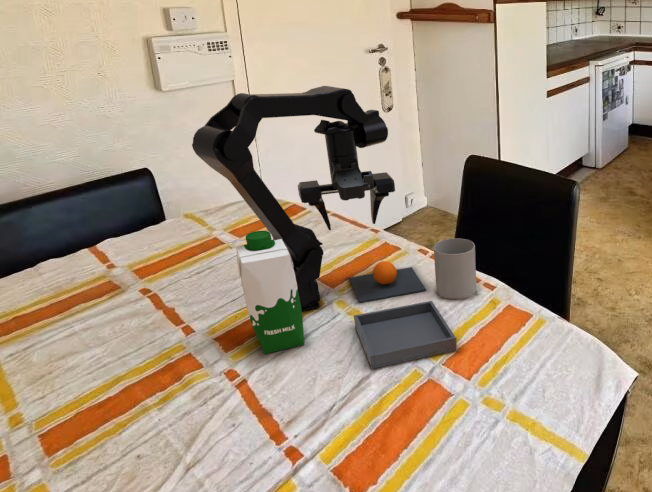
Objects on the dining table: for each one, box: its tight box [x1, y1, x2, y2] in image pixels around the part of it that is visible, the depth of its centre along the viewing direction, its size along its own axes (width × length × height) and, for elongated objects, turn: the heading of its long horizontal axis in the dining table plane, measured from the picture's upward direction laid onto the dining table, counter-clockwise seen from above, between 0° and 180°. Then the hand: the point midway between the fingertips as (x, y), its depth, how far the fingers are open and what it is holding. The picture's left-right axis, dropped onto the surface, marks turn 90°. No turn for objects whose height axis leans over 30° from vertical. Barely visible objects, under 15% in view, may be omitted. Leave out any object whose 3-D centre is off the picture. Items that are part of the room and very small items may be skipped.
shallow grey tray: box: [353, 300, 458, 370], centre depth 114 cm, size 15×15×3 cm
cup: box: [433, 237, 477, 300], centre depth 129 cm, size 8×8×10 cm
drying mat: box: [349, 266, 427, 304], centre depth 134 cm, size 14×12×1 cm
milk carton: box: [235, 230, 305, 355], centre depth 109 cm, size 9×9×20 cm
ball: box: [372, 260, 397, 285], centre depth 132 cm, size 5×5×5 cm
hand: (352, 226), depth 131 cm, fingers open, 9 cm apart
